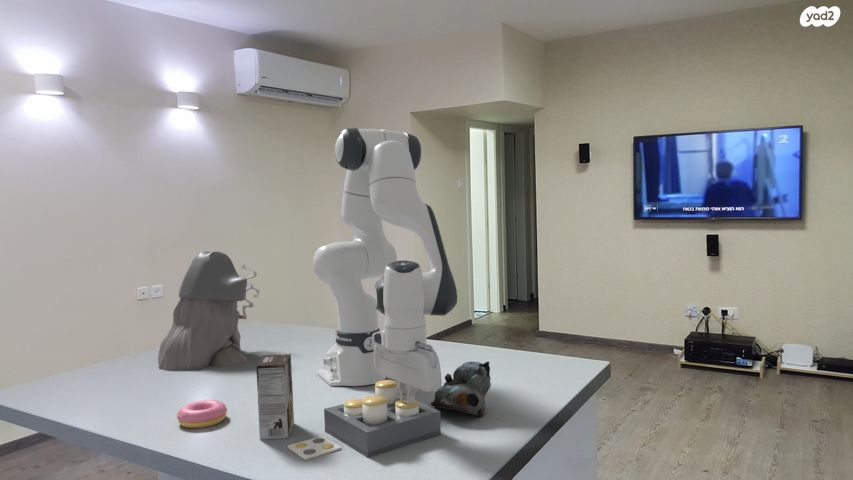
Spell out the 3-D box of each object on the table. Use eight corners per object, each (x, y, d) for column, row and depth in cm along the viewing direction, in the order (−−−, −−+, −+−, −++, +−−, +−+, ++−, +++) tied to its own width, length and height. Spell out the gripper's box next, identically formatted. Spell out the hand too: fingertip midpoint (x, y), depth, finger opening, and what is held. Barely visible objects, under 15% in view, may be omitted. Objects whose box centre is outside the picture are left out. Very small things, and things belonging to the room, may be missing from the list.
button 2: (358, 423, 127) (357, 399, 126) (379, 417, 129) (378, 394, 129) (371, 430, 123) (370, 405, 122) (392, 424, 125) (391, 400, 125)
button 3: (371, 405, 138) (370, 383, 137) (390, 400, 141) (389, 378, 140) (383, 410, 134) (382, 388, 133) (402, 405, 137) (401, 383, 136)
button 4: (391, 425, 131) (390, 402, 131) (410, 419, 134) (409, 397, 134) (404, 431, 127) (403, 408, 127) (424, 426, 130) (423, 403, 130)
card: (287, 447, 125) (287, 444, 125) (323, 437, 130) (322, 435, 130) (304, 460, 119) (304, 457, 119) (341, 449, 124) (341, 446, 124)
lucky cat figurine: (425, 405, 149) (443, 350, 153) (470, 421, 150) (487, 367, 154) (437, 407, 134) (457, 346, 138) (488, 425, 135) (506, 364, 139)
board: (324, 431, 134) (324, 408, 133) (393, 412, 144) (393, 391, 144) (367, 457, 119) (366, 432, 119) (440, 434, 130) (440, 411, 130)
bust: (281, 351, 209) (277, 248, 206) (197, 377, 180) (191, 258, 178) (215, 341, 227) (211, 247, 224) (129, 363, 198) (123, 255, 196)
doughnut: (227, 427, 139) (226, 408, 138) (175, 433, 136) (173, 415, 135) (228, 411, 149) (227, 394, 149) (179, 417, 146) (178, 400, 146)
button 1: (340, 425, 133) (339, 402, 133) (360, 419, 136) (359, 397, 136) (351, 431, 129) (351, 408, 129) (372, 425, 132) (371, 403, 132)
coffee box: (266, 424, 139) (262, 354, 138) (294, 423, 139) (291, 353, 138) (258, 440, 130) (254, 365, 129) (289, 438, 130) (286, 363, 129)
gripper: (447, 344, 123) (450, 411, 124) (391, 329, 140) (393, 389, 140) (422, 349, 119) (425, 418, 120) (367, 333, 136) (370, 394, 137)
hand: (407, 402), depth 131 cm, fingers closed
